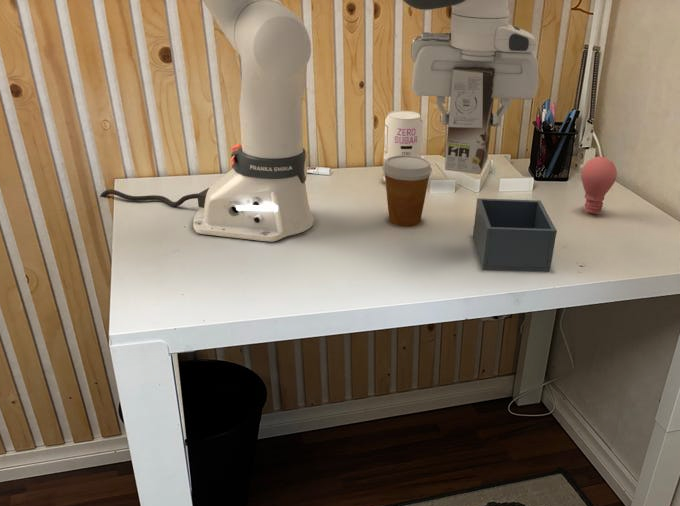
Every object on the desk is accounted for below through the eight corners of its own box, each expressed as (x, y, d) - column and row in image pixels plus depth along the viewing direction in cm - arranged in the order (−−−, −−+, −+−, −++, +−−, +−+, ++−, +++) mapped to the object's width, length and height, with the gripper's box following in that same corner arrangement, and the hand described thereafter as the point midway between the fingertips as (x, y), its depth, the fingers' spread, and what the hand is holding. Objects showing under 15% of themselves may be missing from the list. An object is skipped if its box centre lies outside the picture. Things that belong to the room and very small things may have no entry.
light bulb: (573, 217, 153) (583, 160, 147) (575, 205, 159) (585, 150, 153) (608, 221, 152) (619, 164, 146) (608, 209, 158) (620, 154, 152)
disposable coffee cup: (371, 219, 146) (372, 160, 139) (405, 208, 152) (407, 151, 145) (404, 234, 140) (407, 173, 134) (438, 223, 146) (442, 163, 140)
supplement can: (403, 174, 170) (406, 108, 162) (426, 184, 165) (431, 116, 157) (375, 180, 166) (377, 112, 158) (398, 191, 161) (401, 121, 153)
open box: (482, 269, 129) (487, 228, 125) (472, 236, 141) (477, 198, 137) (549, 271, 130) (556, 230, 126) (534, 238, 142) (540, 200, 138)
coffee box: (481, 175, 121) (492, 72, 112) (443, 170, 122) (451, 68, 113) (488, 159, 128) (499, 61, 120) (452, 154, 129) (460, 57, 121)
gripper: (412, 35, 111) (408, 127, 118) (546, 41, 112) (534, 132, 119) (411, 28, 116) (407, 117, 124) (538, 33, 117) (527, 121, 125)
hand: (470, 124), depth 122 cm, fingers closed on coffee box, 7 cm apart
